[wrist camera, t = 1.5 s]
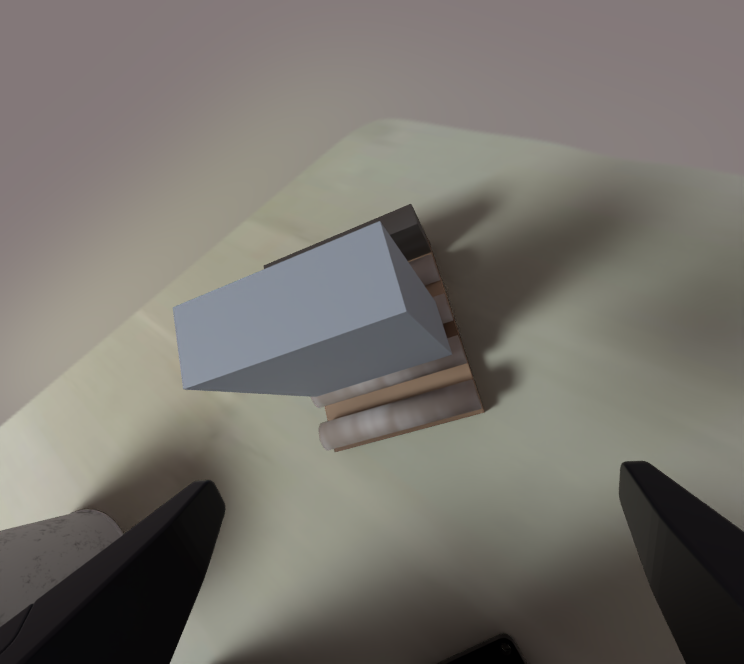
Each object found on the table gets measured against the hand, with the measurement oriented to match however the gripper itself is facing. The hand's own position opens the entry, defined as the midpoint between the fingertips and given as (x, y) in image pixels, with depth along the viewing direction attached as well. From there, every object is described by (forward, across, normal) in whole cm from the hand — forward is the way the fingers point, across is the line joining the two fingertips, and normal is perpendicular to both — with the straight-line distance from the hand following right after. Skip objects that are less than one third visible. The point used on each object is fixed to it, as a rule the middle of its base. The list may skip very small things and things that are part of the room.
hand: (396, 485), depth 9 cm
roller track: (+16, +3, +5) cm, 16 cm away
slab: (+13, +3, +3) cm, 14 cm away
